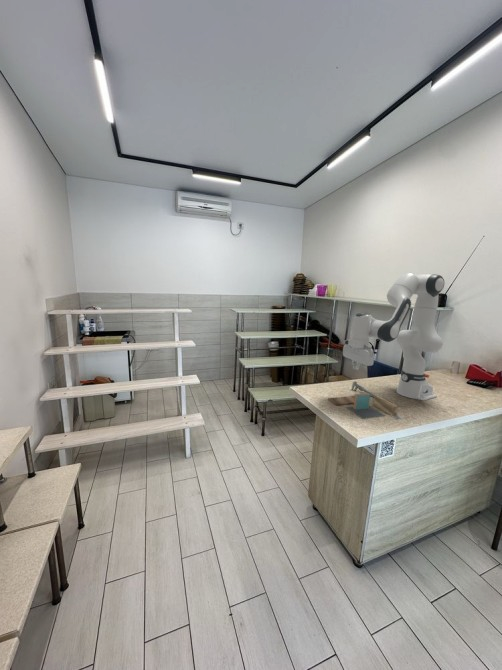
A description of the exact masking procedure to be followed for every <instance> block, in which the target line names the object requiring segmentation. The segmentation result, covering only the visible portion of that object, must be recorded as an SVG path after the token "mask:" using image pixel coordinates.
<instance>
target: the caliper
mask: <svg viewBox="0 0 502 670" xmlns="http://www.w3.org/2000/svg"><path fill="white" fill-rule="evenodd" d="M351 390H356V391H357V390H358V391H361V392H363V393H369V394H370V397H371V398H372V397H373V398H374V399H375V397H379V396H378V395H376V394H374V393H373V392H371V391H370V390H368V389H366V388H365V387H364V386H362V385H361V384H359V383H358V381H357V380H354V381H353V382H352V385H351Z"/></svg>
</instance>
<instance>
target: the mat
mask: <svg viewBox="0 0 502 670" xmlns="http://www.w3.org/2000/svg"><path fill="white" fill-rule="evenodd" d="M353 407H354V406H349V407H346V409H347V410H349V411H350V412H352V413H353V414H354V415H355V416H357V417H359V418H360V419H362V420H364V419H371V418H372V419H373V418H381V417H383V418H384V417H386V415H385V414H383V413H382V412H380V411H378V410H377V409H376V408H374V407H373V406H370V405H369V407H368V409H360V410H355V409H353Z"/></svg>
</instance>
